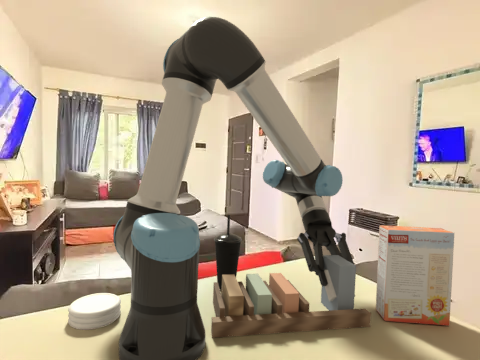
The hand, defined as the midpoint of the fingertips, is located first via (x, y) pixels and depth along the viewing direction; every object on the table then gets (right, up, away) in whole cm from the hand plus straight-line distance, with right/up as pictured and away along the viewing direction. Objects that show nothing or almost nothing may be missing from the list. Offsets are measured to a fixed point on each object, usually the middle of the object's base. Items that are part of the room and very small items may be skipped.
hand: (342, 298), depth 67 cm
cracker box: (+16, -5, 0) cm, 16 cm away
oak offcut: (-26, -3, -2) cm, 26 cm away
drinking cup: (-27, -2, +13) cm, 31 cm away
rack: (-14, -3, 0) cm, 14 cm away
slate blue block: (-1, -4, +2) cm, 4 cm away
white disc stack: (-55, -2, -5) cm, 55 cm away
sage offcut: (-20, -3, -1) cm, 20 cm away
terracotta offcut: (-14, -3, 0) cm, 14 cm away
